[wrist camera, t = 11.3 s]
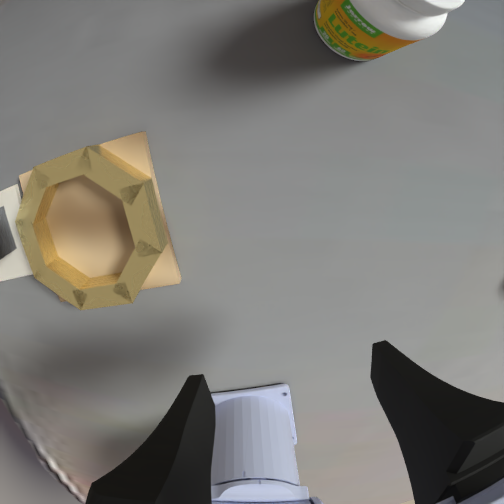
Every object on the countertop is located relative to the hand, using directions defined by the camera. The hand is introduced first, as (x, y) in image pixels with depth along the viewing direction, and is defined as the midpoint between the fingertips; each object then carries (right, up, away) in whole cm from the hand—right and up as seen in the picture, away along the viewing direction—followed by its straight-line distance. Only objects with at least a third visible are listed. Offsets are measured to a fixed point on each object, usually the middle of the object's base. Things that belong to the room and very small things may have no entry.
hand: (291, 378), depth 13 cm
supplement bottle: (+5, +20, +3) cm, 21 cm away
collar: (-12, +7, +7) cm, 16 cm away
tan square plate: (-12, +7, +7) cm, 16 cm away
